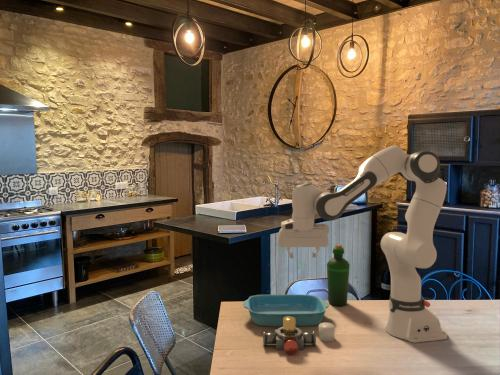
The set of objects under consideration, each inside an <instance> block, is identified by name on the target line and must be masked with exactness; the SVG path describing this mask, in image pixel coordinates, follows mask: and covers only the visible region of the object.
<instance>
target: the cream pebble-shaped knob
mask: <svg viewBox="0 0 500 375" xmlns="http://www.w3.org/2000/svg"><path fill="white" fill-rule="evenodd" d="M335 328H336V326H335V325H334V323H331V322H320V323H319V324H318V339H319V340H320V341H321V342H324V343H331V342H334V341H335V337H336V336H335V332H336V329H335Z"/></svg>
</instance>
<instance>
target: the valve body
mask: <svg viewBox="0 0 500 375" xmlns="http://www.w3.org/2000/svg"><path fill="white" fill-rule="evenodd" d="M262 344H263V346H266V345H275V349H276V351H284V352H285V353H286V354H287V355H291V356H292V355H295V354H296V353H297V352H298V351H304V350H305V347H304V346H305V345H312V346H316V344H317V338H316V331H315V330H312V331H311V332H309V331H308V332H307V331H306V332H305V331H304V332H302V329H300V328H299V327H296V334H295V335H284V334H283V326H279V328H277V329H274V332H266V331H263V332H262Z"/></svg>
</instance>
